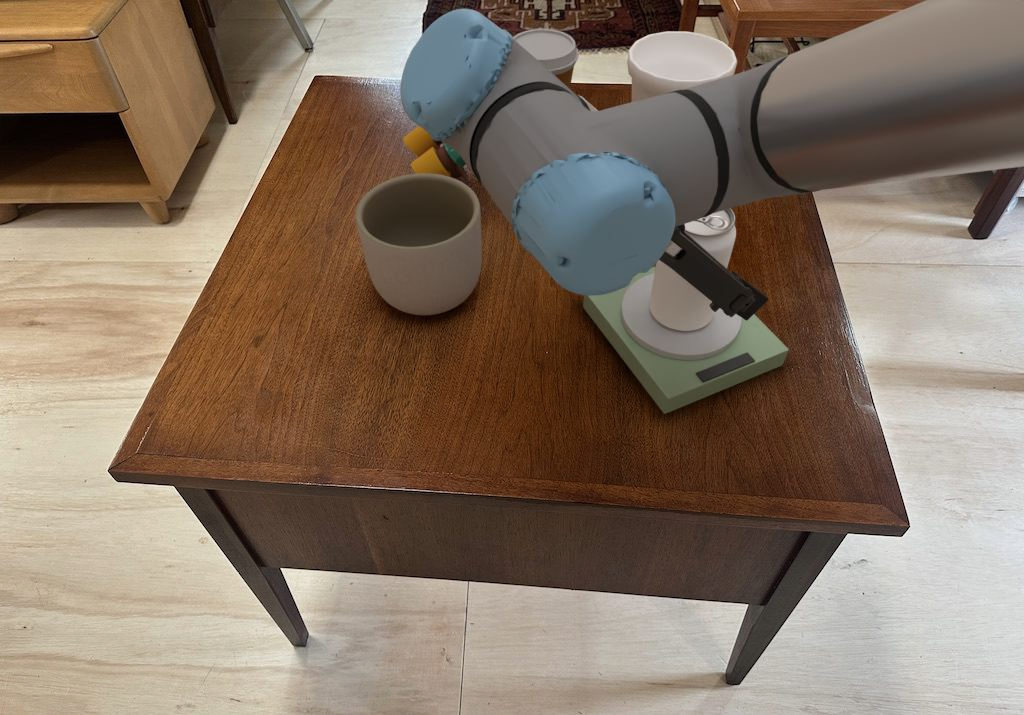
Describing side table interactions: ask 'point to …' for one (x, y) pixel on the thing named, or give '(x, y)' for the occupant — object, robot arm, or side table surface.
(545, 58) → the disposable coffee cup
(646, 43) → the cup
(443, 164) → the binoculars
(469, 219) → the planter
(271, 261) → the side table surface
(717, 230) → the can
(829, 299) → the side table surface
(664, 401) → the scale
